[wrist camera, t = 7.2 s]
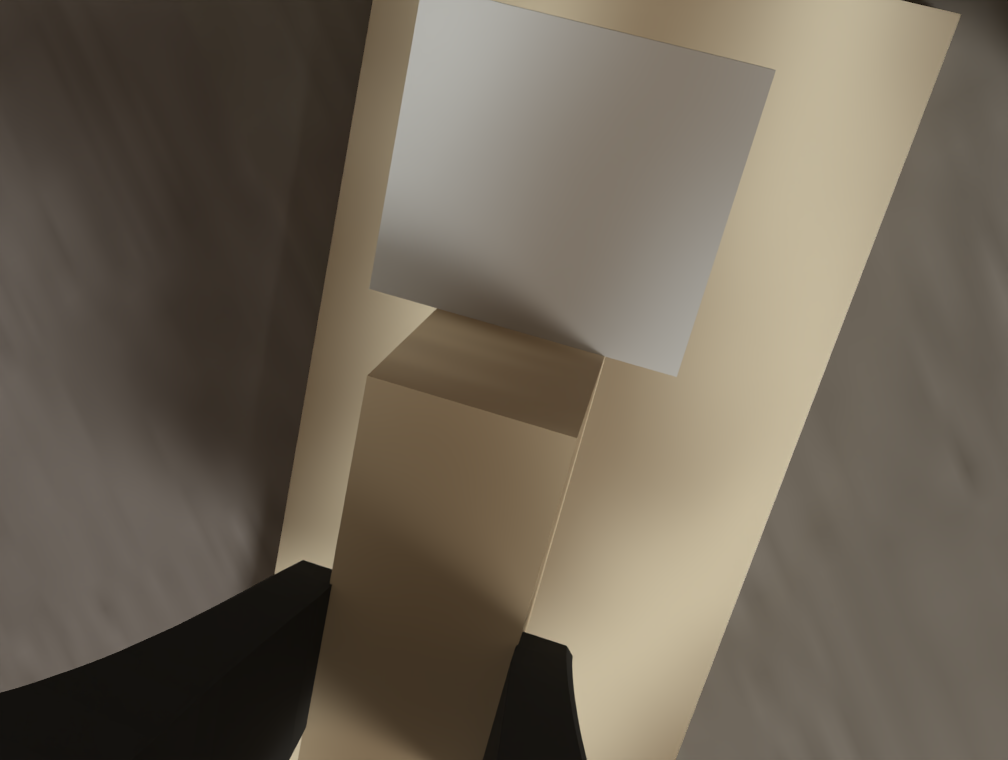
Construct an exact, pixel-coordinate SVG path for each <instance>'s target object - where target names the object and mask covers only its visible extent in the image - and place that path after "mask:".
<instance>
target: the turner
mask: <svg viewBox="0 0 1008 760" xmlns="http://www.w3.org/2000/svg"><path fill="white" fill-rule="evenodd" d="M775 71H776V70H774V69H771V68H766V67H762V66H758V65H754V64H750V63H746V62H742V61H738V60H734V59H730V58H726V57H722V56H717V55H713V54H709V53H705V52H701V51H697V50H693V49H689V48H685V47H681V46H677V45H673V44H668V43H664V42H660V41H656V40H652V39H648V38H644V37H640V36H636V35H632V34H628V33H623V32H619V31H615V30H611V29H607V28H603V27H599V26H595V25H591V24H587V23H583V22H579V21H574V20H570V19H566V18H562V17H558V16H554V15H550V14H546V13H542V12H538V11H534V10H530V9H525V8H521V7H517V6H513V5H509V4H505V3H501V2H497V1H493V0H419V6H418V12H417V17H416V23H415V29H414V34H413V40H412V46H411V52H410V57H409V63H408V69H407V75H406V80H405V86H404V92H403V98H402V103H401V109H400V115H399V121H398V126H397V132H396V138H395V144H394V149H393V155H392V161H391V167H390V172H389V178H388V184H387V189H386V195H385V201H384V207H383V212H382V218H381V224H380V230H379V235H378V241H377V247H376V253H375V258H374V264H373V270H372V276H371V281H370V287H369V289H371V290H375V291H378V292H382V293H385V294H389V295H392V296H396V297H399V298H403V299H406V300H410V301H413V302H417V303H420V304H424V305H427V306H431V307H434V308H437V309H436V310H435V311H434V312H433V313H432V314H431V315H430V316H428V317H427V318H426V319H425V320H424V321H423V322H422V323H421V324H420V325H419V326H418V327H417V328H416V329H415V330H414V331H413V332H412V333H411V334H410V335H409V336H408V337H407V338H406V339H405V340H404V341H402V342H401V343H400V344H399V345H398V346H397V347H396V348H395V349H394V350H393V351H392V352H391V353H390V354H389V355H388V356H387V357H386V358H385V359H384V360H383V361H382V362H381V363H380V364H379V365H378V366H376V367H375V368H374V369H373V370H372V371H371V372H370V373H369V374H368V375H367V379H366V384H365V390H364V395H363V401H362V406H361V412H360V418H359V423H358V429H357V434H356V440H355V445H354V451H353V456H352V462H351V467H350V473H349V479H348V484H347V490H346V495H345V501H344V506H343V512H342V517H341V523H340V529H339V534H338V540H337V545H336V551H335V556H334V562H333V567H332V573H331V578H330V584H332V587H331V593H330V598H329V604H328V609H327V615H326V620H325V626H324V631H323V637H322V642H321V648H320V653H319V659H318V664H317V670H316V675H315V681H314V686H313V692H312V697H311V703H310V708H309V714H308V719H307V725H306V729H305V731H304V733H303V735H302V739H301V745H300V751H299V756H298V760H483V757H484V753H485V750H486V746H487V743H488V739H489V736H490V732H491V729H492V725H493V722H494V718H495V715H496V711H497V708H498V704H499V701H500V697H501V694H502V690H503V687H504V683H505V680H506V676H507V673H508V669H509V666H510V662H511V659H512V656H513V653H514V650H515V647H516V645H518V644H519V641H520V638H521V635H522V632H526V631H527V628H528V624H529V621H530V617H531V614H532V610H533V607H534V603H535V600H536V597H537V593H538V590H539V586H540V583H541V579H542V576H543V572H544V569H545V565H546V562H547V558H548V555H549V551H550V548H551V544H552V541H553V537H554V534H555V530H556V527H557V524H558V520H559V517H560V513H561V510H562V506H563V503H564V499H565V496H566V492H567V489H568V485H569V482H570V478H571V475H572V471H573V468H574V464H575V461H576V457H577V454H578V450H579V447H580V444H581V440H582V437H583V433H584V430H585V426H586V423H587V419H588V416H589V412H590V409H591V405H592V402H593V398H594V395H595V391H596V388H597V384H598V381H599V377H600V374H601V371H602V367H603V364H604V360H605V357H608V358H612V359H615V360H619V361H622V362H626V363H629V364H633V365H636V366H640V367H643V368H647V369H650V370H654V371H657V372H661V373H664V374H668V375H671V376H675V377H677V375H678V372H679V369H680V365H681V362H682V359H683V356H684V353H685V350H686V347H687V344H688V341H689V338H690V334H691V331H692V328H693V325H694V322H695V319H696V316H697V313H698V310H699V307H700V304H701V300H702V297H703V294H704V291H705V288H706V285H707V282H708V279H709V276H710V273H711V270H712V266H713V263H714V260H715V257H716V254H717V251H718V248H719V245H720V242H721V239H722V235H723V232H724V229H725V226H726V223H727V220H728V217H729V214H730V211H731V208H732V205H733V201H734V198H735V195H736V192H737V189H738V186H739V183H740V180H741V177H742V174H743V170H744V167H745V164H746V161H747V158H748V155H749V152H750V149H751V146H752V143H753V140H754V136H755V133H756V130H757V127H758V124H759V121H760V118H761V115H762V112H763V109H764V106H765V102H766V99H767V96H768V93H769V90H770V87H771V84H772V81H773V78H774V75H775Z"/></svg>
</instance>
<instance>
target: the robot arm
mask: <svg viewBox="0 0 1008 760" xmlns="http://www.w3.org/2000/svg"><path fill="white" fill-rule="evenodd" d="M331 573H332V569H329V568H326V567H323V566H320V565H317V564H314V563H311V562H308V561H305V560H302V561H300V562H298V563H296V564H294V565H292V566H290V567H288V568H286V569H284V570H282V571H280V572H278V573H276V574H274V575H273V576H271V577H269V578H267V579H265V580H263V581H262V582H260V583H258V584H256V585H254V586H252V587H251V588H249V589H247V590H245V591H243V592H241V593H239V594H237V595H236V596H234V597H232V598H230V599H228V600H226V601H224V602H222V603H220V604H218V605H217V606H215V607H213V608H211V609H209V610H207V611H205V612H203V613H201V614H199V615H197V616H195V617H193V618H191V619H189V620H187V621H185V622H183V623H181V624H179V625H177V626H175V627H173V628H171V629H168V630H166V631H164V632H162V633H159V634H157V635H155V636H153V637H151V638H148V639H146V640H144V641H142V642H139V643H137V644H135V645H133V646H130V647H128V648H126V649H124V650H122V651H119V652H117V653H114V654H112V655H109V656H107V657H104V658H102V659H99V660H97V661H94V662H92V663H89V664H86V665H84V666H81V667H78V668H76V669H73V670H70V671H67V672H64V673H61V674H58V675H55V676H52V677H50V678H47V679H44V680H41V681H38V682H35V683H32V684H29V685H26V686H22V687H19V688H16V689H12V690H9V691H5V692H1V693H0V760H289V759H290V758H291V756H292V754H293V752H294V750H295V748H296V746H297V744H298V742H299V740H300V738H301V736H302V735H303V733H304V731H305V729H306V725H307V719H308V714H309V708H310V703H311V697H312V692H313V686H314V681H315V675H316V670H317V664H318V659H319V653H320V648H321V642H322V637H323V631H324V626H325V620H326V615H327V609H328V604H329V598H330V593H331V587H332V584H330V578H331ZM572 660H573V656H572V654H571V652H570V650H569V648H568V647H567V646H566V645H563V644H560V643H557V642H554V641H551V640H548V639H545V638H542V637H539V636H535V635H532V634H529V633H526V632H522V635H521V638H520V641H519V644H518V645H516V647H515V650H514V653H513V656H512V659H511V662H510V666H509V669H508V673H507V676H506V680H505V683H504V687H503V690H502V694H501V697H500V701H499V704H498V708H497V711H496V715H495V718H494V722H493V725H492V729H491V732H490V736H489V739H488V743H487V746H486V750H485V753H484V757H483V760H587V758H586V754H585V749H584V745H583V741H582V736H581V731H580V726H579V720H578V714H577V708H576V701H575V694H574V685H573V669H572Z"/></svg>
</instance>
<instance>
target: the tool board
mask: <svg viewBox="0 0 1008 760" xmlns="http://www.w3.org/2000/svg"><path fill="white" fill-rule="evenodd" d="M493 1H497V2H501V3H505V4H509V5H513V6H517V7H521V8H525V9H530V10H534V11H538V12H542V13H546V14H550V15H554V16H558V17H562V18H566V19H570V20H574V21H579V22H583V23H587V24H591V25H595V26H599V27H603V28H607V29H611V30H615V31H619V32H623V33H628V34H632V35H636V36H640V37H644V38H648V39H652V40H656V41H660V42H664V43H668V44H673V45H677V46H681V47H685V48H689V49H693V50H697V51H701V52H705V53H709V54H713V55H717V56H722V57H726V58H730V59H734V60H738V61H742V62H746V63H750V64H754V65H758V66H762V67H766V68H771V69H774V70H776V71H775V75H774V78H773V81H772V84H771V87H770V90H769V93H768V96H767V99H766V102H765V106H764V109H763V112H762V115H761V118H760V121H759V124H758V127H757V130H756V133H755V136H754V140H753V143H752V146H751V149H750V152H749V155H748V158H747V161H746V164H745V167H744V170H743V174H742V177H741V180H740V183H739V186H738V189H737V192H736V195H735V198H734V201H733V205H732V208H731V211H730V214H729V217H728V220H727V223H726V226H725V229H724V232H723V235H722V239H721V242H720V245H719V248H718V251H717V254H716V257H715V260H714V263H713V266H712V270H711V273H710V276H709V279H708V282H707V285H706V288H705V291H704V294H703V297H702V300H701V304H700V307H699V310H698V313H697V316H696V319H695V322H694V325H693V328H692V331H691V334H690V338H689V341H688V344H687V347H686V350H685V353H684V356H683V359H682V362H681V365H680V369H679V372H678V375H677V377H675V376H671V375H668V374H664V373H661V372H657V371H654V370H650V369H647V368H643V367H640V366H636V365H633V364H629V363H626V362H622V361H619V360H615V359H612V358H608V357H605V360H604V364H603V367H602V371H601V374H600V377H599V381H598V384H597V388H596V391H595V395H594V398H593V402H592V405H591V409H590V412H589V416H588V419H587V423H586V426H585V430H584V433H583V437H582V440H581V444H580V447H579V450H578V454H577V457H576V461H575V464H574V468H573V471H572V475H571V478H570V482H569V485H568V489H567V492H566V496H565V499H564V503H563V506H562V510H561V513H560V517H559V520H558V524H557V527H556V530H555V534H554V537H553V541H552V544H551V548H550V551H549V555H548V558H547V562H546V565H545V569H544V572H543V576H542V579H541V583H540V586H539V590H538V593H537V597H536V600H535V603H534V607H533V610H532V614H531V617H530V621H529V624H528V628H527V631H526V633H529V634H532V635H535V636H539V637H542V638H545V639H548V640H551V641H554V642H557V643H560V644H563V645H566V646H567V647H568V648H569V650H570V652H571V654H572V656H573V660H572V669H573V685H574V694H575V701H576V708H577V714H578V720H579V726H580V731H581V736H582V741H583V745H584V749H585V754H586V758H587V760H676V757H677V754H678V752H679V749H680V746H681V744H682V741H683V739H684V736H685V733H686V731H687V728H688V726H689V723H690V720H691V718H692V715H693V713H694V710H695V707H696V705H697V702H698V700H699V697H700V694H701V692H702V689H703V686H704V684H705V681H706V679H707V676H708V673H709V671H710V668H711V666H712V663H713V660H714V658H715V655H716V653H717V650H718V647H719V645H720V642H721V640H722V637H723V634H724V632H725V629H726V627H727V624H728V621H729V619H730V616H731V613H732V611H733V608H734V606H735V603H736V600H737V598H738V595H739V593H740V590H741V587H742V585H743V582H744V580H745V577H746V574H747V572H748V569H749V567H750V564H751V561H752V559H753V556H754V554H755V551H756V548H757V546H758V543H759V540H760V538H761V535H762V533H763V530H764V527H765V525H766V522H767V520H768V517H769V514H770V512H771V509H772V507H773V504H774V501H775V499H776V496H777V494H778V491H779V488H780V486H781V483H782V480H783V478H784V475H785V473H786V470H787V467H788V465H789V462H790V460H791V457H792V454H793V452H794V449H795V447H796V444H797V441H798V439H799V436H800V434H801V431H802V428H803V426H804V423H805V421H806V418H807V415H808V413H809V410H810V407H811V405H812V402H813V400H814V397H815V394H816V392H817V389H818V387H819V384H820V381H821V379H822V376H823V374H824V371H825V368H826V366H827V363H828V361H829V358H830V355H831V353H832V350H833V347H834V345H835V342H836V340H837V337H838V334H839V332H840V329H841V327H842V324H843V321H844V319H845V316H846V314H847V311H848V308H849V306H850V303H851V301H852V298H853V295H854V293H855V290H856V288H857V285H858V282H859V280H860V277H861V274H862V272H863V269H864V267H865V264H866V261H867V259H868V256H869V254H870V251H871V248H872V246H873V243H874V241H875V238H876V235H877V233H878V230H879V228H880V225H881V222H882V220H883V217H884V215H885V212H886V209H887V207H888V204H889V201H890V199H891V196H892V194H893V191H894V188H895V186H896V183H897V181H898V178H899V175H900V173H901V170H902V168H903V165H904V162H905V160H906V157H907V155H908V152H909V149H910V147H911V144H912V141H913V139H914V136H915V134H916V131H917V128H918V126H919V123H920V121H921V118H922V115H923V113H924V110H925V108H926V105H927V102H928V100H929V97H930V95H931V92H932V89H933V87H934V84H935V82H936V79H937V76H938V74H939V71H940V68H941V66H942V63H943V61H944V58H945V55H946V53H947V50H948V48H949V45H950V42H951V40H952V37H953V35H954V32H955V29H956V27H957V24H958V22H959V19H960V16H961V14H957V13H953V12H949V11H945V10H940V9H936V8H932V7H928V6H923V5H919V4H915V3H911V2H907V1H902V0H493ZM418 6H419V0H373V2H372V8H371V14H370V19H369V25H368V31H367V37H366V43H365V49H364V54H363V60H362V66H361V72H360V78H359V84H358V90H357V95H356V101H355V107H354V113H353V119H352V125H351V130H350V136H349V142H348V148H347V154H346V160H345V165H344V171H343V177H342V183H341V189H340V195H339V200H338V206H337V212H336V218H335V224H334V230H333V235H332V241H331V247H330V253H329V259H328V265H327V270H326V276H325V282H324V288H323V294H322V300H321V306H320V311H319V317H318V323H317V329H316V335H315V341H314V346H313V352H312V358H311V364H310V370H309V376H308V381H307V387H306V393H305V399H304V405H303V411H302V416H301V422H300V428H299V434H298V440H297V446H296V451H295V457H294V463H293V469H292V475H291V481H290V487H289V492H288V498H287V504H286V510H285V516H284V522H283V527H282V533H281V539H280V545H279V551H278V557H277V562H276V568H275V574H276V573H278V572H280V571H282V570H284V569H286V568H288V567H290V566H292V565H294V564H296V563H298V562H300V561H302V560H305V561H308V562H311V563H314V564H317V565H320V566H323V567H326V568H329V569H332V567H333V562H334V556H335V551H336V545H337V540H338V534H339V529H340V523H341V517H342V512H343V506H344V501H345V495H346V490H347V484H348V479H349V473H350V467H351V462H352V456H353V451H354V445H355V440H356V434H357V429H358V423H359V418H360V412H361V406H362V401H363V395H364V390H365V384H366V379H367V375H368V374H369V373H370V372H371V371H372V370H373V369H374V368H375V367H376V366H378V365H379V364H380V363H381V362H382V361H383V360H384V359H385V358H386V357H387V356H388V355H389V354H390V353H391V352H392V351H393V350H394V349H395V348H396V347H397V346H398V345H399V344H400V343H401V342H402V341H404V340H405V339H406V338H407V337H408V336H409V335H410V334H411V333H412V332H413V331H414V330H415V329H416V328H417V327H418V326H419V325H420V324H421V323H422V322H423V321H424V320H425V319H426V318H427V317H428V316H430V315H431V314H432V313H433V312H434V311H435V310H436V309H437V308H434V307H431V306H427V305H424V304H420V303H417V302H413V301H410V300H406V299H403V298H399V297H396V296H392V295H389V294H385V293H382V292H378V291H375V290H371V289H369V287H370V281H371V276H372V270H373V264H374V258H375V253H376V247H377V241H378V235H379V230H380V224H381V218H382V212H383V207H384V201H385V195H386V189H387V184H388V178H389V172H390V167H391V161H392V155H393V149H394V144H395V138H396V132H397V126H398V121H399V115H400V109H401V103H402V98H403V92H404V86H405V80H406V75H407V69H408V63H409V57H410V52H411V46H412V40H413V34H414V29H415V23H416V17H417V12H418ZM301 739H302V736H301V738H300V740H299V742H298V744H297V746H296V748H295V750H294V752H293V754H292V756H291V758H290V759H289V760H298V756H299V751H300V745H301Z"/></svg>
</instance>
